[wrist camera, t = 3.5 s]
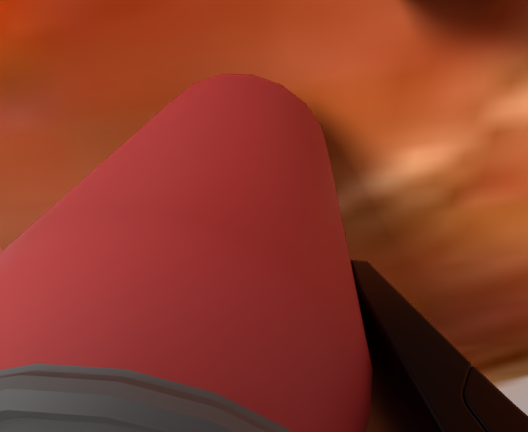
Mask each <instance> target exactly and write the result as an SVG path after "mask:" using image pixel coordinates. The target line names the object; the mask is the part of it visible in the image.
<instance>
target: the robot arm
mask: <svg viewBox="0 0 528 432" xmlns="http://www.w3.org/2000/svg"><path fill="white" fill-rule="evenodd" d="M351 266H352V271H353V276H354V281H355V286H356V291H357V295H358V300H359V305H360V310H361V315H362V320H363V325H364V330H365V335H366V340H367V344H368V349H369V354H370V359H371V364H372V369H373V370H372V389H371V408H370V416H369V421H368V425H367V429H366V432H528V416H527V415H526V414H525V413H523V411H521V410H520V409H519V408H518V407H517V406H516V405H515V404H513V403H512V402H511V401H510V400H509V399H508V398H507V397H506V396H505V395H504V394H503V393H502V392H501V391H500V390H499V389H498V388H496V387H495V386H494V385H493V384H492V383H491V382H490V381H489V380H488V379H487V378H486V377H485V376H484V375H483V374H482V373H481V372H480V371H479V370H478V369H477V368H476V367H474V366H472V364H471V362H470V361H468V360H467V359H466V358H465V357H464V356H463V355H462V354H461V353H460V352H459V351H458V350H457V349H456V348H455V347H454V346H453V345H452V344H451V343H450V342H449V341H448V340H447V339H446V338H445V337H444V336H443V335H442V334H441V333H440V332H439V331H438V330H437V329H436V328H435V327H434V326H433V325H432V324H431V323H430V322H429V321H428V320H427V319H426V318H425V317H424V316H423V315H422V314H421V313H420V312H419V311H418V310H417V309H416V308H414V307H413V306H412V305H411V304H410V303H409V302H408V301H407V300H406V299H405V298H404V297H403V296H402V295H401V294H400V293H399V292H398V291H397V290H396V289H395V288H394V287H393V286H392V285H391V284H390V283H389V282H388V281H387V280H386V279H385V278H384V277H383V276H382V275H381V274H380V273H379V272H378V271H377V270H376V269H375V268H374V267H373V266H372V265H371V264H370V263H368V262H367V261H359V260H351ZM471 366H472V367H471Z"/></svg>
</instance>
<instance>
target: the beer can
mask: <svg viewBox="0 0 528 432" xmlns="http://www.w3.org/2000/svg"><path fill="white" fill-rule="evenodd" d="M372 370H373V369H372V364H371V359H370V354H369V349H368V344H367V340H366V335H365V330H364V325H363V320H362V315H361V310H360V305H359V300H358V295H357V291H356V286H355V281H354V276H353V271H352V266H351V261H350V256H349V251H348V247H347V242H346V237H345V232H344V227H343V222H342V217H341V212H340V207H339V202H338V198H337V193H336V188H335V183H334V178H333V173H332V168H331V163H330V158H329V154H328V150H327V146H326V142H325V138H324V134H323V130H322V127H321V126H320V124H319V123H318V121H317V120H316V118H315V117H314V115H313V114H312V112H311V111H310V109H309V108H308V106H307V105H306V103H304V102H303V101H302V100H300V99H299V98H298V97H297V96H295V95H294V94H293V93H291V92H290V91H289V90H288V89H286V88H285V87H284V86H283V85H280V84H278V83H275V82H272V81H269V80H266V79H264V78H261V77H258V76H255V75H247V74H220V75H218V76H215V77H212V78H209V79H206V80H203V81H200V82H197V83H194V84H192V85H191V86H190V87H189V88H187V89H186V90H185V91H184V92H182V93H181V94H180V95H179V96H177V97H176V98H175V99H174V100H172V101H171V102H170V103H169V104H168V105H167V106H166V107H164V108H163V109H162V110H161V111H160V112H159V113H158V114H156V115H155V116H154V117H153V118H152V119H151V120H150V121H149V122H147V123H146V124H145V125H144V126H143V127H142V128H141V129H140V130H138V131H137V132H136V133H135V134H134V135H133V136H132V137H130V138H129V139H128V140H127V141H126V142H125V143H124V144H123V145H121V146H120V147H119V148H118V149H117V150H116V151H115V152H114V153H112V154H111V155H110V156H109V157H108V158H107V159H106V160H105V161H103V162H102V163H101V164H100V165H99V166H98V167H97V168H95V169H94V170H93V171H92V172H91V173H90V174H89V175H88V176H86V177H85V178H84V179H83V180H82V181H81V182H80V183H79V184H77V185H76V186H75V187H74V188H73V189H72V190H71V191H69V192H68V193H67V194H66V195H65V196H64V197H63V198H62V199H60V200H59V201H58V202H57V203H56V204H55V205H54V206H53V207H51V208H50V209H49V210H48V211H47V212H46V213H45V214H44V215H42V216H41V217H40V218H39V219H38V220H37V221H36V222H34V223H33V224H32V225H31V226H30V227H29V228H28V229H27V230H25V231H24V232H23V233H22V234H21V235H20V236H19V237H18V238H16V239H15V240H14V241H13V242H12V243H11V244H10V245H9V246H7V247H6V248H5V249H4V250H3V251H2V252H1V253H0V432H366V429H367V425H368V421H369V416H370V408H371V389H372Z"/></svg>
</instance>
